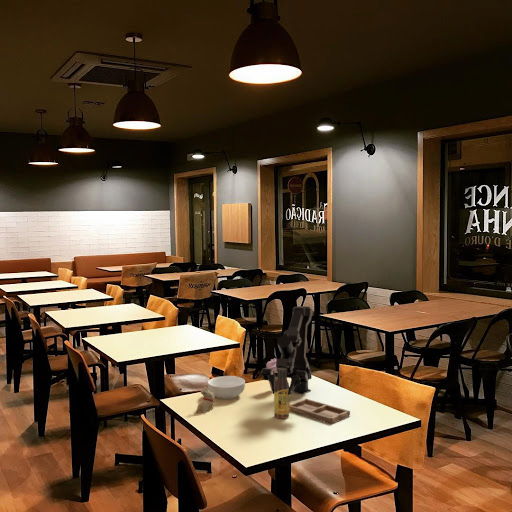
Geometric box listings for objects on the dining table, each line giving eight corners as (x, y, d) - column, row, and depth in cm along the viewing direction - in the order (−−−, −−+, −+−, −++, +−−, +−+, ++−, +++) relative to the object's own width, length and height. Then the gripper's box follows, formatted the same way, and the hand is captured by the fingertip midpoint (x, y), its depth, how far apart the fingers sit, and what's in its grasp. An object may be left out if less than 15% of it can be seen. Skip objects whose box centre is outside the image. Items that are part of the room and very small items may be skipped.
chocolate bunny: (215, 411, 235) (214, 388, 235) (196, 412, 234) (195, 389, 233) (214, 407, 241) (213, 384, 240) (195, 408, 239) (195, 385, 239)
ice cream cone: (283, 390, 262) (282, 358, 261) (274, 393, 257) (273, 361, 256) (272, 387, 266) (272, 356, 265) (263, 390, 262) (263, 359, 261)
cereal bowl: (201, 395, 256) (200, 380, 256) (230, 388, 267) (230, 373, 266) (222, 405, 243) (221, 389, 243) (252, 397, 253) (252, 381, 253)
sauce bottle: (278, 420, 224) (277, 371, 222) (271, 415, 229) (270, 367, 228) (293, 417, 226) (292, 368, 225) (285, 412, 232) (284, 365, 231)
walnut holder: (306, 403, 244) (306, 398, 243) (349, 415, 227) (349, 411, 227) (287, 410, 235) (287, 405, 235) (331, 423, 219) (331, 418, 219)
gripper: (261, 348, 232) (254, 382, 223) (306, 351, 227) (300, 386, 217) (267, 362, 241) (260, 396, 231) (310, 365, 235) (305, 399, 225)
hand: (280, 394), depth 226 cm, fingers closed on sauce bottle, 6 cm apart
